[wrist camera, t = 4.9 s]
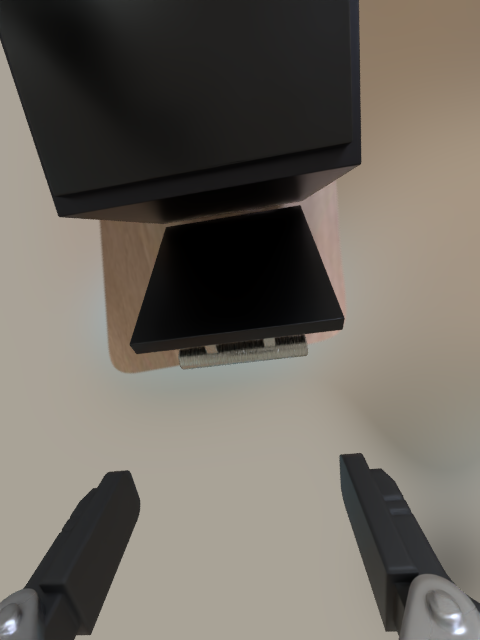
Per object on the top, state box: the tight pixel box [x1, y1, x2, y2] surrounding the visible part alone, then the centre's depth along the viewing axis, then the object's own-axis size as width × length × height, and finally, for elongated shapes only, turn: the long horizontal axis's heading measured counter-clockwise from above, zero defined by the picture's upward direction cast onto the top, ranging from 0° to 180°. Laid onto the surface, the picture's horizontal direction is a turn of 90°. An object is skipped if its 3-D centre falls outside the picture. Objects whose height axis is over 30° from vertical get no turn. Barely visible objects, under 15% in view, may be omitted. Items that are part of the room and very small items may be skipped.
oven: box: [0, 0, 361, 224], centre depth 17 cm, size 16×13×18 cm
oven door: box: [130, 205, 345, 369], centre depth 22 cm, size 5×13×14 cm, turn 100°
